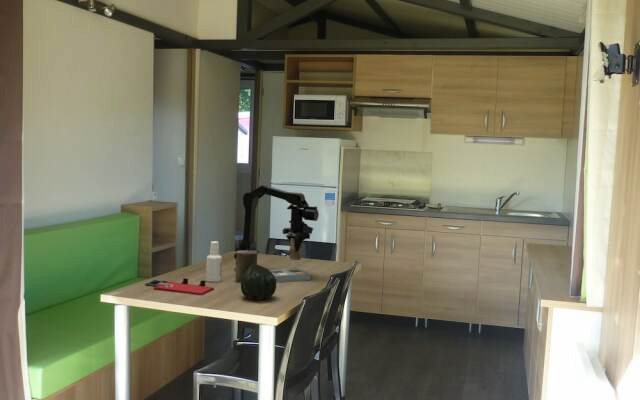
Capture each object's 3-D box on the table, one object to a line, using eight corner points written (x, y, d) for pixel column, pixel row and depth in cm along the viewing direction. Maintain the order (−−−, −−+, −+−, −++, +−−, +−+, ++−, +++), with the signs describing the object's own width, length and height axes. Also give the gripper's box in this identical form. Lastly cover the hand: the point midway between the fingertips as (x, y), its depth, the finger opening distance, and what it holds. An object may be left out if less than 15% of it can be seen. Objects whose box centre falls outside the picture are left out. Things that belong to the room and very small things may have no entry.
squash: (288, 287, 243) (272, 256, 249) (261, 293, 232) (245, 261, 238) (270, 304, 251) (254, 274, 257) (243, 311, 240) (228, 280, 246)
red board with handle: (156, 280, 267) (138, 288, 253) (156, 274, 267) (138, 282, 252) (217, 288, 259) (202, 297, 245) (217, 282, 259) (202, 290, 245)
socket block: (276, 282, 274) (276, 275, 274) (264, 276, 286) (265, 269, 285) (310, 280, 283) (310, 273, 283) (297, 274, 295) (298, 267, 294)
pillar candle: (252, 284, 269) (254, 251, 268) (232, 281, 271) (233, 249, 270) (258, 279, 279) (260, 248, 278) (239, 278, 281) (240, 246, 280)
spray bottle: (223, 280, 274) (225, 241, 273) (215, 282, 268) (216, 243, 267) (211, 278, 277) (213, 240, 276) (203, 280, 271) (204, 241, 269)
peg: (293, 260, 284) (294, 239, 283) (289, 258, 288) (290, 238, 287) (300, 259, 286) (301, 239, 285) (296, 258, 290) (297, 238, 289)
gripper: (320, 221, 281) (318, 253, 282) (302, 216, 297) (301, 247, 299) (299, 221, 276) (298, 254, 277) (282, 216, 292) (281, 248, 293)
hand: (295, 251), depth 287 cm, fingers closed on peg, 4 cm apart
